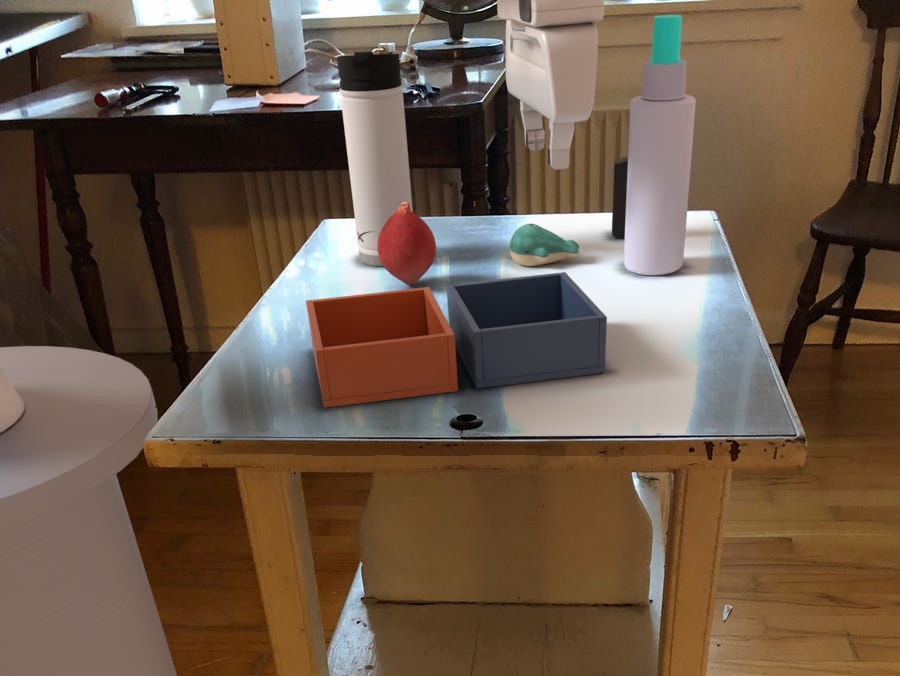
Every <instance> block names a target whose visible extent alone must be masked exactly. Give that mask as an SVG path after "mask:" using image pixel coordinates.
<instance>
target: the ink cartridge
mask: <svg viewBox="0 0 900 676" xmlns="http://www.w3.org/2000/svg"><path fill="white" fill-rule="evenodd" d="M627 174H628V156H623V157H621V158H617V159H614V160H613V183H612V184H613V185H612V187H613V188H612V212H611V213H612V215H611V236H612V237H613V238H614V239H617V240H622V239H623V240H625V221H626V198H627Z"/></svg>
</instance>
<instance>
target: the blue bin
mask: <svg viewBox="0 0 900 676" xmlns="http://www.w3.org/2000/svg"><path fill="white" fill-rule="evenodd" d="M446 300H447V314H448V315H447V316H448V323H449V325H450V327H451V329H452V331H453V333H454V335H455V349H456V352H457V354H458V355H459V357H460V359H461V361H462V364H463V365H464V367H465V369H466V370H467V373H468V374H469V377H470V378H471V381H472V382H473V384H474V386H475V388H476V389H486V388H493V387H501V386H509V385H517V384H524V383H532V382H540V381H541V382H542V381H548V380H557V379H566V378H574V377H582V376H589V375H590V376H591V375H596V374H605V372H606V357H607V356H606V354H607V353H606V352H607V325H608V322H607V321H608V317H607V316H606V314H605V313H604V312H603V311H602V310H601V309H600V308H599V307H598V306H597V304H596V303H594V302H593V300H592V299H591V298H590V297H589V296H588V295H587V294H586V293H585V292H584V291H583V290H582V289H581V287H580V286H578V284H577V283H576V282H575V281H574V280H573V279H572V277H571V276H569V275H568V273H566V272H565V271H562V272H553V273H544V274H543V273H542V274H533V275H527V276H517V277H516V276H515V277H508V278H507V277H506V278H499V279H491V280H480V281H471V282H463V283H454V284H447V285H446Z"/></svg>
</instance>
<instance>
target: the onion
mask: <svg viewBox="0 0 900 676" xmlns="http://www.w3.org/2000/svg"><path fill="white" fill-rule="evenodd" d="M436 242H437V241H436V238H435V235H434V233H433V231H432V229H431V227H430V226H429V225H428V224H427V223H426V222H425V220H424V219H422V217H420V216H419V215H417V214H416V213H415V212H412V211H411V209H410V205H409V202H404V203H402V204H401V206H400V207H399V208H398V209H397V210H396V212H395V213H394V214H393V215H392V216H391V217H390V218H389V219H388V220H387V222H386V223H385V225H384V226H383V228H382V229H381V232H380V234H379V237H378V242H377V251H378V255H379V259H380V261H381V263H382V264H383V266H382V267H384V269H385V270H386V271H387V272H388V273H389V274H390V275H391V276H392V277H394V278H395V279H397V280H399V281H401V282H402V283H403V284H404V285H407V286H414V285H416V284H417V283H418V282H419V280H421V278H422V277H423V276H424V275H425V274H426V273H427V272H428V270H429V269H430V268H431V267H432V264H433V263H434V261H435V258H436V256H437V243H436Z"/></svg>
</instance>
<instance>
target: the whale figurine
mask: <svg viewBox="0 0 900 676" xmlns="http://www.w3.org/2000/svg"><path fill="white" fill-rule="evenodd" d="M579 249H580V245H579V243H578V242H577V241H575V240H573V239H567V240H566V239H564V238H562V237H561V236H559V235H558V234H556V233H555V232H553V231H550V230H549V229H547V228H544V227H542V226H540V225H538V224H536V223H526V224H523V225H521V226H520V227H518V228H517V229H516V230H515V231H514V232H513V233H512V236H511V239H510V243H509V254H510V258H511V259H512V260H513V261H514V262H515V263H517V264H519V265H522V266H525V267H535V266H542V265H547V264H551V263H555V262H558V261H562V260H563V259H565V258H569V259H574V258H576V257H577V256H579V254H580V252H579Z"/></svg>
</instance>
